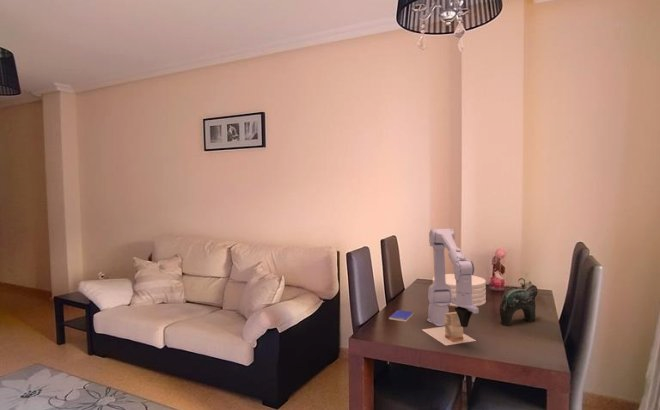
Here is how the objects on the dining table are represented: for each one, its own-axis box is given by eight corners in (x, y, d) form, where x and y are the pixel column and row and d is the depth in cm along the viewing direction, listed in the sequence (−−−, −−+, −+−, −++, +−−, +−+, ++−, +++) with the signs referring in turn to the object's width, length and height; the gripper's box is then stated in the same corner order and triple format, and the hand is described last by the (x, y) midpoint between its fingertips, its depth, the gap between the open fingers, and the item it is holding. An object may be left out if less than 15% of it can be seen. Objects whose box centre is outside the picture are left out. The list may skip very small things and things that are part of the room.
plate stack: (494, 306, 196) (494, 284, 195) (440, 307, 196) (440, 285, 196) (474, 292, 224) (474, 273, 223) (427, 293, 224) (427, 274, 224)
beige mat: (421, 331, 163) (421, 329, 163) (449, 327, 167) (449, 325, 167) (445, 346, 146) (445, 345, 146) (476, 342, 150) (476, 340, 150)
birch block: (445, 337, 154) (444, 313, 154) (455, 335, 155) (455, 311, 155) (452, 341, 149) (452, 316, 149) (463, 340, 151) (463, 315, 150)
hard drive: (405, 319, 176) (413, 311, 187) (389, 316, 180) (397, 309, 191) (405, 322, 176) (413, 315, 187) (389, 320, 180) (397, 312, 191)
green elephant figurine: (529, 317, 178) (529, 275, 177) (541, 321, 172) (541, 278, 171) (497, 323, 171) (496, 279, 170) (508, 328, 165) (508, 282, 164)
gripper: (485, 295, 140) (485, 331, 140) (461, 286, 153) (461, 319, 154) (469, 297, 137) (469, 334, 138) (446, 288, 151) (446, 321, 152)
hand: (464, 326), depth 146 cm, fingers closed
